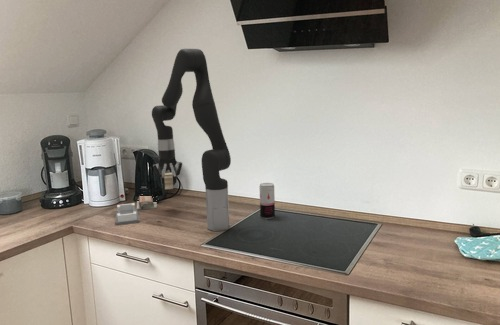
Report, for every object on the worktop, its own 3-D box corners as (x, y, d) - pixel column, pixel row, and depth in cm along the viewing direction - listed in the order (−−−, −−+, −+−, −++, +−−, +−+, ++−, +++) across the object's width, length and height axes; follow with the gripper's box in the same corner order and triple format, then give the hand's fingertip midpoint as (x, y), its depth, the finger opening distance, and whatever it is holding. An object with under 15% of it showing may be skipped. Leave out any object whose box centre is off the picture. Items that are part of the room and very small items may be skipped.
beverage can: (275, 214, 183) (274, 182, 180) (274, 219, 176) (273, 186, 173) (261, 214, 183) (260, 182, 181) (259, 219, 177) (258, 186, 174)
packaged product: (156, 200, 197) (135, 202, 194) (157, 209, 198) (136, 211, 195) (155, 191, 214) (136, 193, 211) (156, 200, 215) (137, 201, 212)
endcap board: (139, 222, 177) (138, 213, 177) (115, 225, 174) (115, 216, 174) (137, 210, 195) (136, 202, 194) (115, 212, 192) (115, 204, 191)
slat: (173, 188, 182) (172, 177, 181) (165, 189, 181) (164, 178, 180) (173, 182, 196) (172, 172, 195) (165, 183, 195) (164, 173, 194)
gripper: (151, 150, 180) (154, 188, 183) (182, 148, 184) (185, 184, 187) (150, 149, 187) (153, 184, 190) (180, 146, 191) (183, 181, 194)
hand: (169, 184), depth 188 cm, fingers closed on slat, 4 cm apart
